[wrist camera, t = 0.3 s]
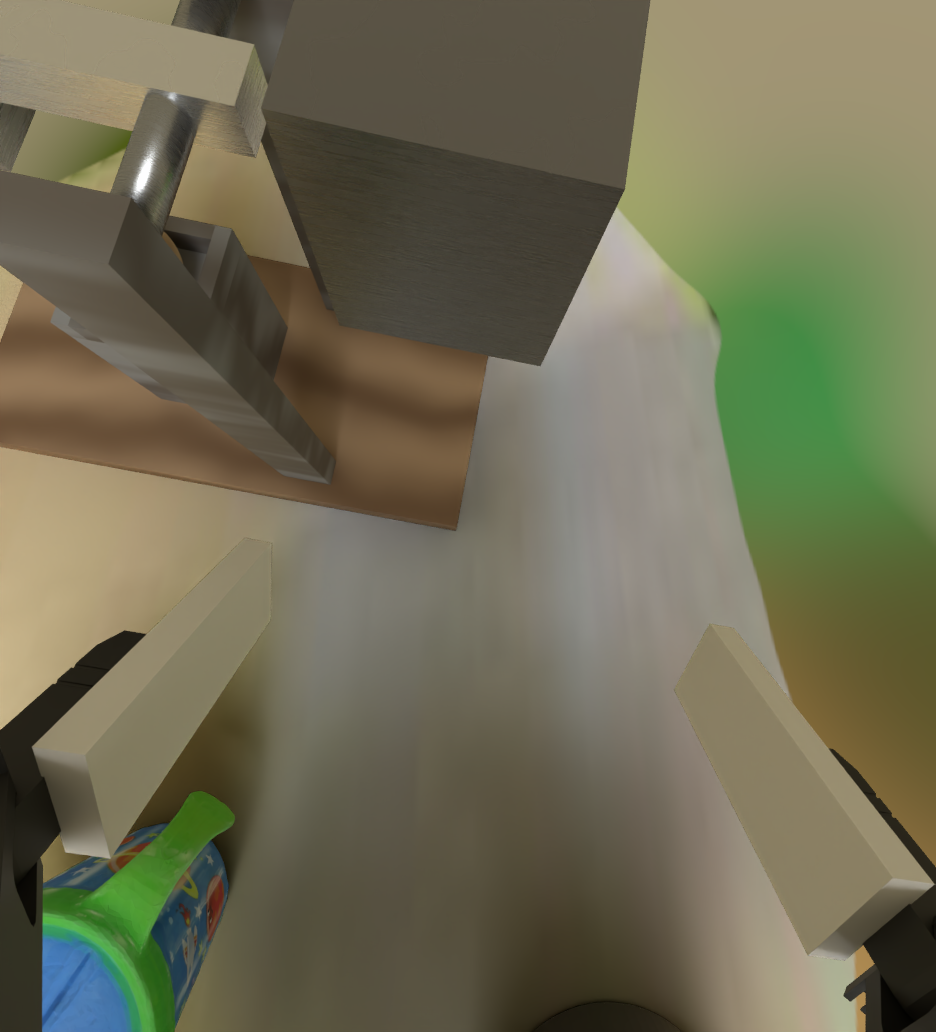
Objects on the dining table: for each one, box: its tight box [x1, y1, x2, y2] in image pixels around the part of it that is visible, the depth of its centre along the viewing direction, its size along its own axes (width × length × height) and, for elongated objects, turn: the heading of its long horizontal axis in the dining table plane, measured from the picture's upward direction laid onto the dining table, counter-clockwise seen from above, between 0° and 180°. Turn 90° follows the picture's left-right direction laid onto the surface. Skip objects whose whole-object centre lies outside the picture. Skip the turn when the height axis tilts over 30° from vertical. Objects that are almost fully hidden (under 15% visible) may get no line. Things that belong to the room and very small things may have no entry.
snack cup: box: [42, 791, 235, 1032], centre depth 21 cm, size 16×10×10 cm
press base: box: [0, 0, 488, 531], centre depth 21 cm, size 16×31×22 cm, turn 80°
